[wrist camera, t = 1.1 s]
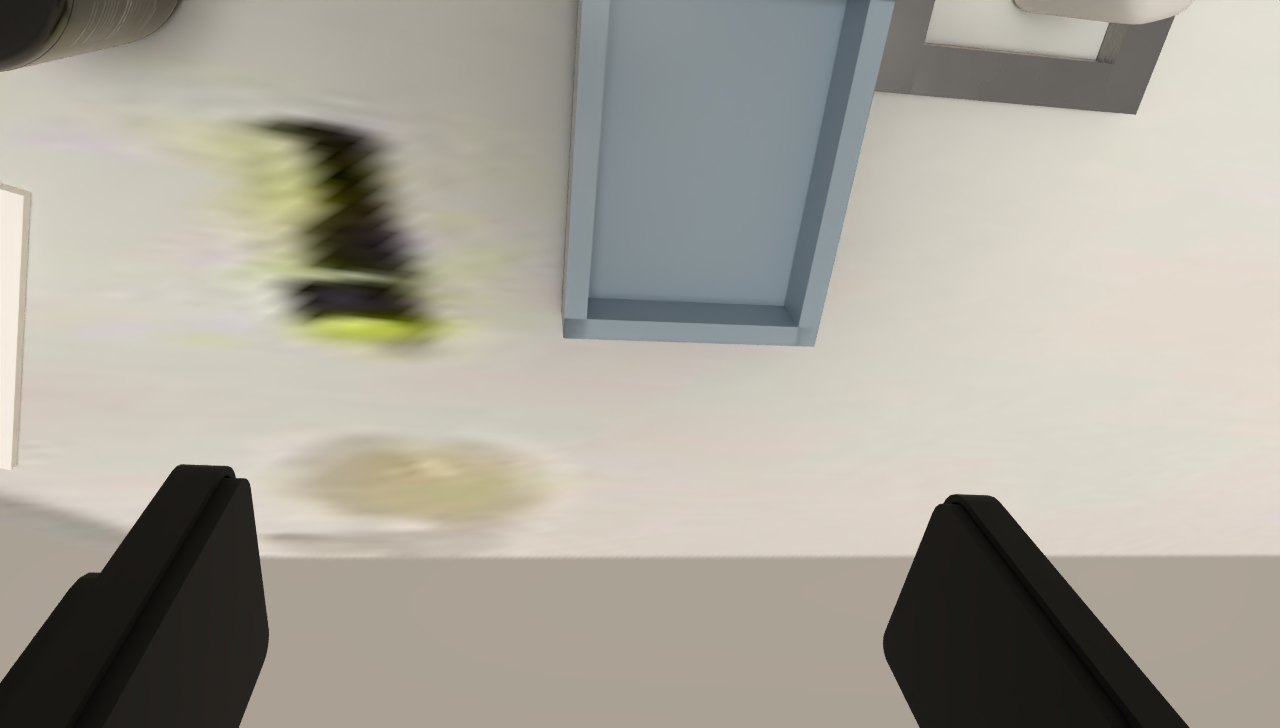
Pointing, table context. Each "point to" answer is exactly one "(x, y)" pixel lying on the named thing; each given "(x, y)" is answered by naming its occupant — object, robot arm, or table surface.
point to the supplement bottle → (73, 27)
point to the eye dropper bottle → (1108, 9)
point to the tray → (713, 164)
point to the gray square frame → (1020, 67)
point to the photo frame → (12, 314)
